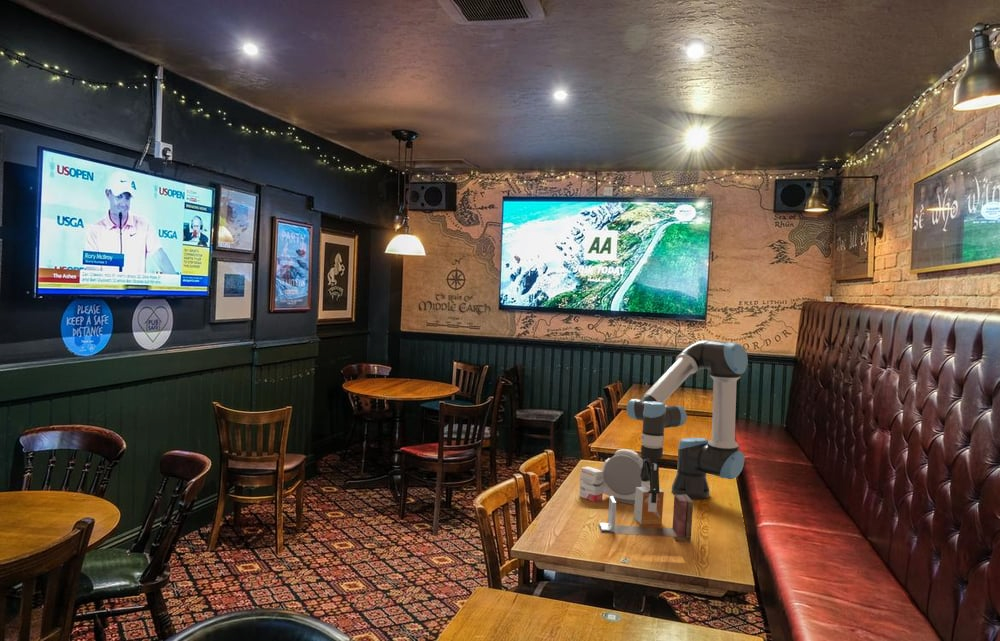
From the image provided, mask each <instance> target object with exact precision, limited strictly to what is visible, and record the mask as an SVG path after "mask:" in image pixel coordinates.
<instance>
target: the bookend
mask: <svg viewBox="0 0 1000 641" xmlns="http://www.w3.org/2000/svg"><path fill="white" fill-rule="evenodd" d="M608 500H609V502H608V518H607V519H608V520H607V522H599V524H600V527H601V530H602V531H611V532H615V525H616V513H617V501H615V499H614V497H613V496H610V497H609V499H608Z"/></svg>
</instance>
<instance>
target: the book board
mask: <svg viewBox="0 0 1000 641" xmlns="http://www.w3.org/2000/svg"><path fill="white" fill-rule="evenodd" d="M673 497H674V498H673V514H672V527H661V526H660V527H659V526H643V525H642V526H639V525H624V524H622V525H620V524H615V532H611V531H602V530H601V527H600V523H597V526H598V528H599V531H600V534H616V535H632V536H633V535H634V536H635V535H636V536H651V537H652V536H653V537H656V536H657V537H668V538H669V537H672V538H674V540H675V542H683V541H684V542H685V543H688V542H689V543H691V542H692V528H693V526H692V525H693V510H694V509H693V508H694V501H693V500H692V499H691V498H689V497H688V495H685V494H682V495H676V494H674V496H673ZM684 542H683V543H684Z"/></svg>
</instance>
